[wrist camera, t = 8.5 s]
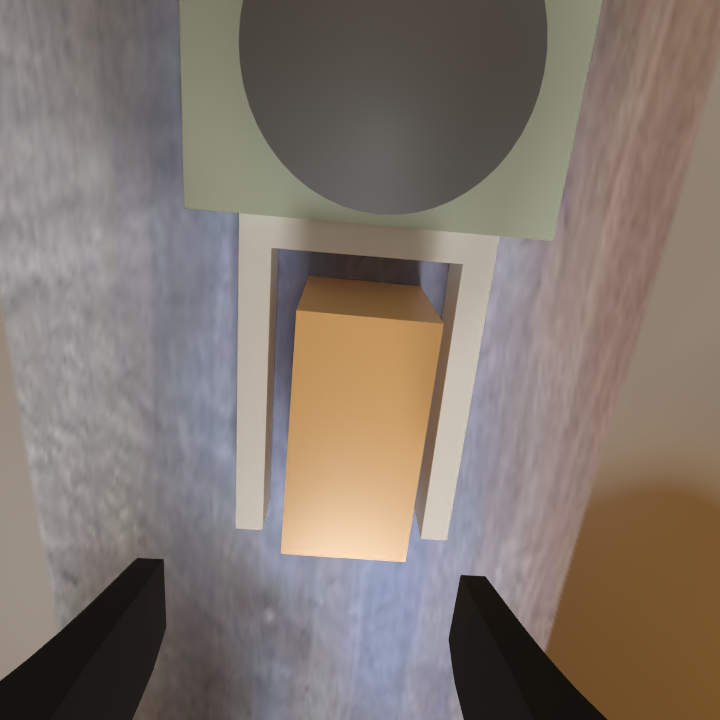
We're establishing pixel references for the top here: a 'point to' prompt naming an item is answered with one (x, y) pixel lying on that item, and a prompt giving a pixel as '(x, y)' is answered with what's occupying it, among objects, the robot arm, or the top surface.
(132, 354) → the top surface
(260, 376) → the green base with dome
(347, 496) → the chute block
